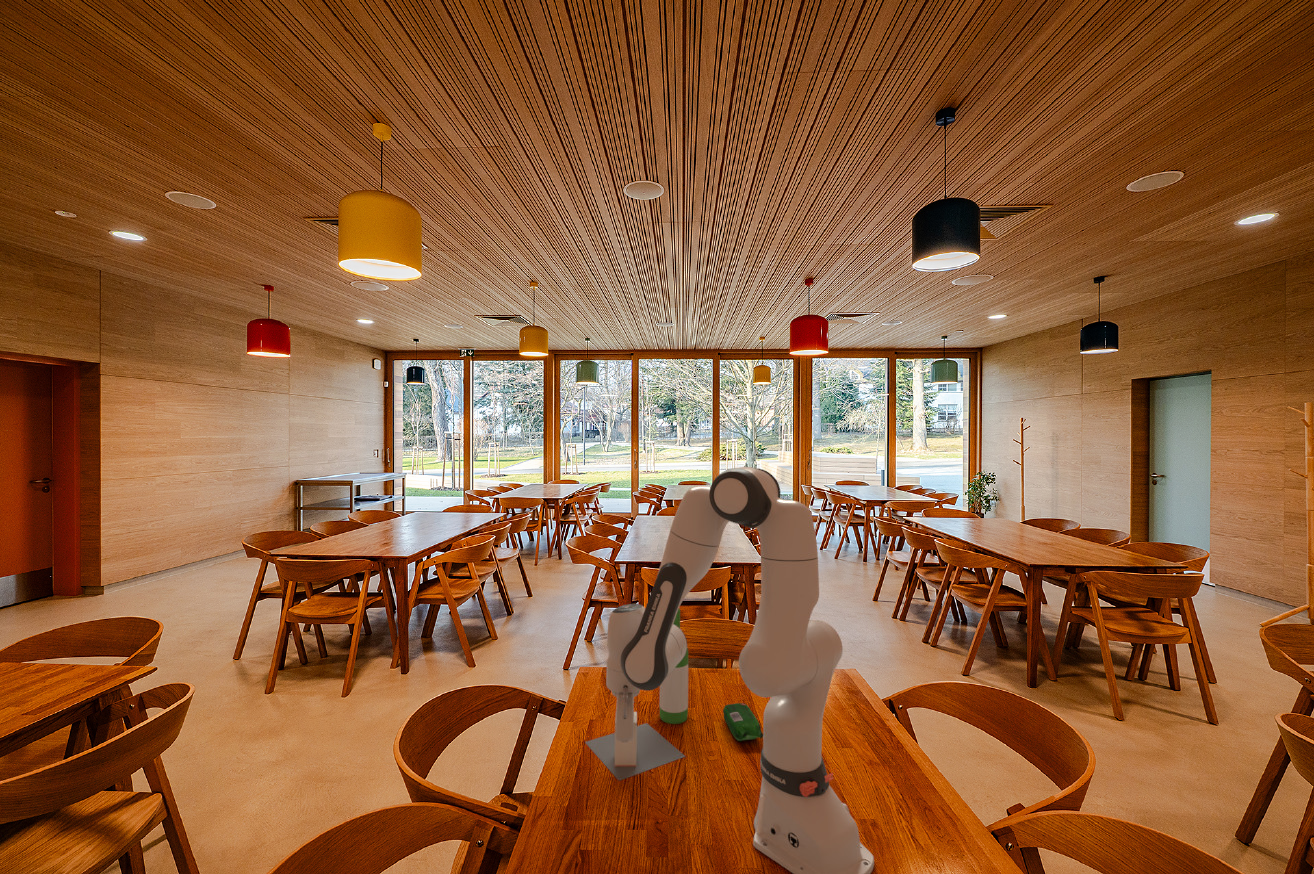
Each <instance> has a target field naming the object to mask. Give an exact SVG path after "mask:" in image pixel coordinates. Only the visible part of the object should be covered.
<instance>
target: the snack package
mask: <svg viewBox="0 0 1314 874" xmlns="http://www.w3.org/2000/svg"><path fill="white" fill-rule="evenodd" d="M722 713H723V719H724V721H725V723H726V725H727V726H728V729H729V731H730V733H731V734H732V735H733V737H734V739H735V740H737V741H738V742H742V741H748V740H751V741H752V740H755V739H757V738H759V739H763V732H762V729H761V724H760V722H759V721H758V719H757V717H756V716H755V714H754V713H753V711H752V710H751V708H750V707H749V706H748V705H747V703H743V702H742V703H741V702H738V703H737V702H736V703H729V704H726V705H725V706H723V710H722Z"/></svg>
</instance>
